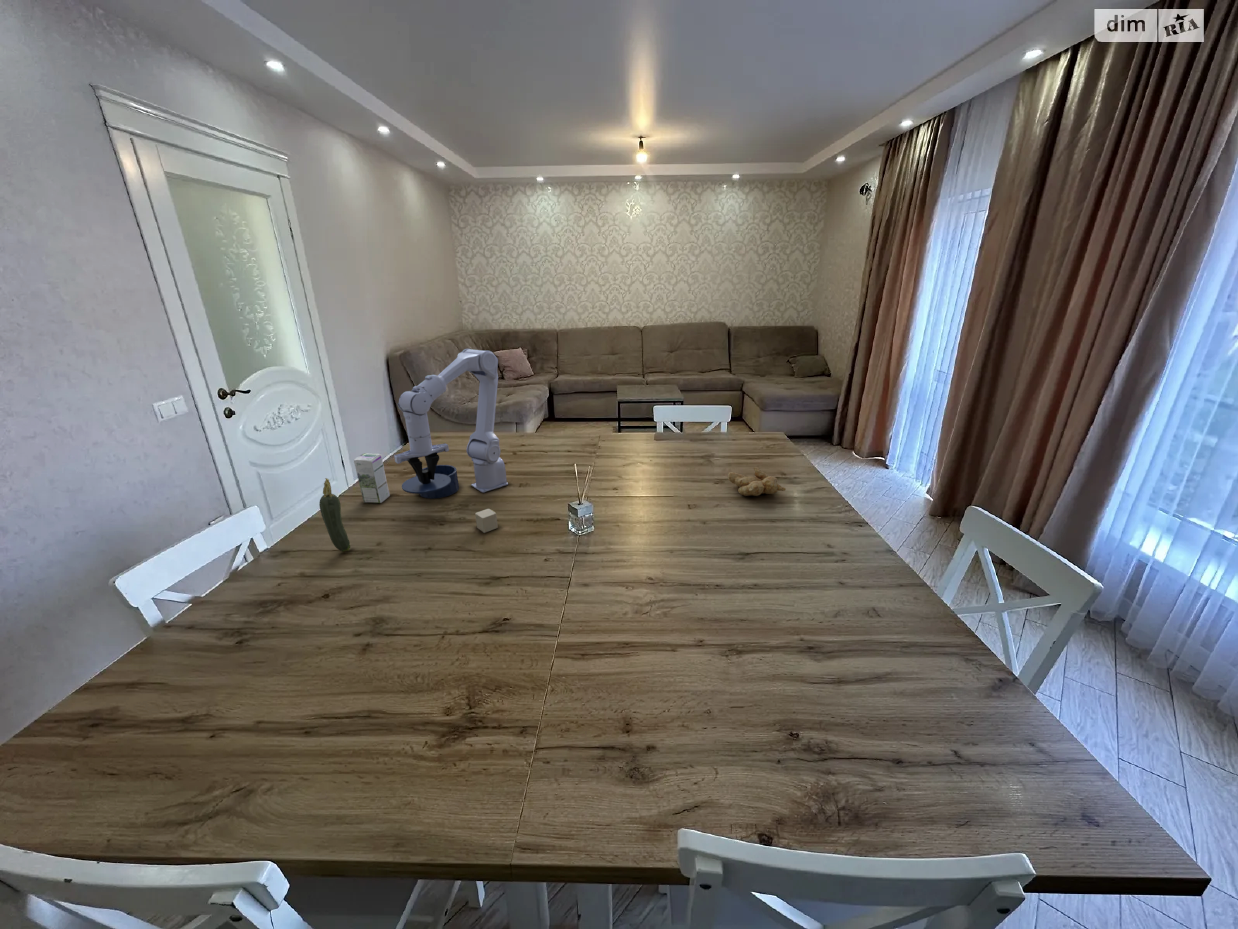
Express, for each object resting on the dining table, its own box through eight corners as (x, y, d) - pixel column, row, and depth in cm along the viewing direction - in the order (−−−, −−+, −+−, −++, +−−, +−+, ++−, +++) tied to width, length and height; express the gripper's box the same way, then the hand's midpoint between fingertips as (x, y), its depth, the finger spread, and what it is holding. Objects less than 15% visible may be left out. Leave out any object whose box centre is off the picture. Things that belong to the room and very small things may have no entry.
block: (490, 522, 136) (488, 508, 134) (498, 527, 133) (496, 513, 132) (476, 527, 133) (474, 513, 132) (484, 533, 131) (482, 518, 129)
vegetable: (343, 558, 119) (324, 484, 112) (328, 556, 120) (308, 483, 113) (355, 548, 123) (338, 477, 116) (340, 547, 124) (322, 475, 117)
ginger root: (791, 499, 145) (787, 475, 142) (738, 511, 147) (734, 487, 144) (776, 480, 160) (773, 458, 157) (729, 491, 161) (724, 469, 159)
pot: (448, 479, 164) (446, 461, 162) (465, 490, 156) (463, 472, 154) (413, 490, 157) (409, 471, 154) (428, 502, 148) (425, 482, 146)
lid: (441, 473, 148) (439, 459, 146) (458, 486, 138) (456, 472, 136) (396, 484, 140) (393, 470, 138) (411, 500, 130) (408, 484, 129)
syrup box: (390, 495, 153) (382, 452, 147) (380, 504, 147) (370, 459, 142) (373, 495, 153) (364, 452, 148) (362, 503, 148) (352, 459, 142)
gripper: (438, 426, 140) (445, 469, 145) (386, 437, 131) (395, 483, 136) (449, 431, 135) (455, 476, 140) (396, 443, 126) (405, 490, 131)
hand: (426, 480), depth 138 cm, fingers closed on lid, 2 cm apart
